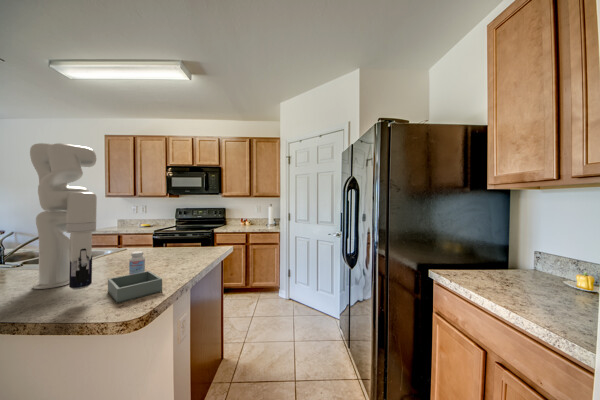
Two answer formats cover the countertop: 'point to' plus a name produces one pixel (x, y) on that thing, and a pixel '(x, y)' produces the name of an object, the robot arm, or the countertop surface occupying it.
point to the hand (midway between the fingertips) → (80, 278)
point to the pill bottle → (136, 263)
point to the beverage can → (73, 276)
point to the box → (134, 286)
